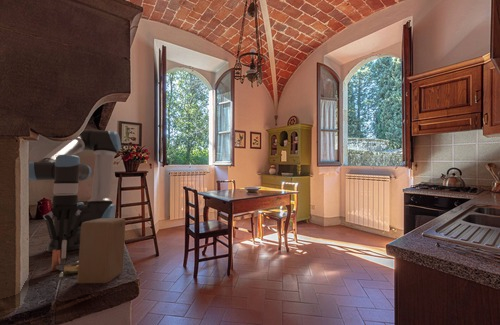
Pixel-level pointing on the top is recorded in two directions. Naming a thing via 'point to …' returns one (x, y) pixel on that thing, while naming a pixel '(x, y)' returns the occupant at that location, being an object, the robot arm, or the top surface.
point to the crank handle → (67, 267)
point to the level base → (66, 274)
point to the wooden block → (101, 250)
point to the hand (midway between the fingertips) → (61, 257)
